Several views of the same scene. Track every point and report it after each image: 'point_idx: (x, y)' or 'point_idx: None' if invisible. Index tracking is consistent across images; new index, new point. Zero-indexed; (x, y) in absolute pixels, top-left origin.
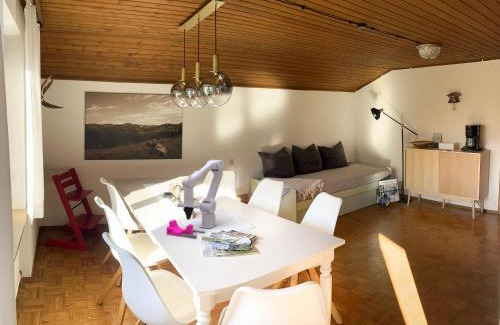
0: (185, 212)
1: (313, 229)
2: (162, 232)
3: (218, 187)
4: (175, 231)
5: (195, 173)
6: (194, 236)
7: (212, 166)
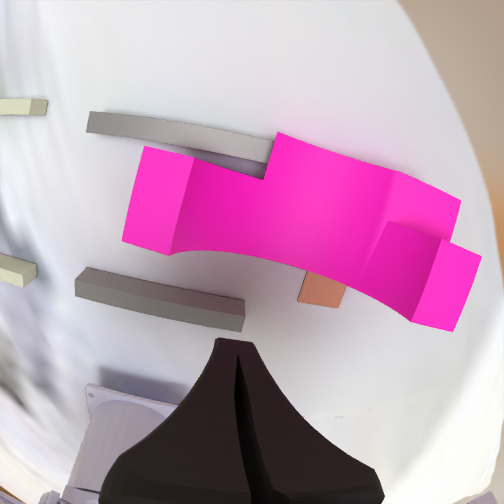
0: (291, 428)
1: None
2: None
3: None
4: (350, 166)
5: None
6: (106, 113)
7: None
